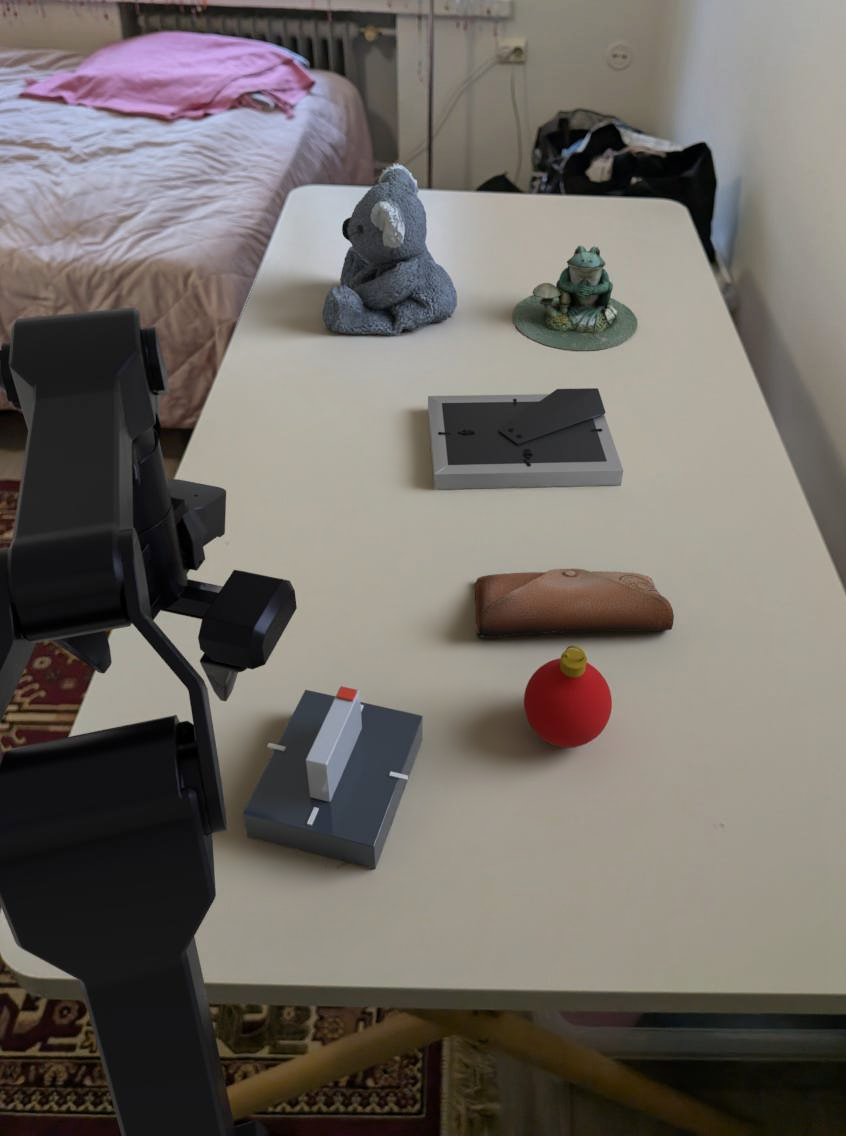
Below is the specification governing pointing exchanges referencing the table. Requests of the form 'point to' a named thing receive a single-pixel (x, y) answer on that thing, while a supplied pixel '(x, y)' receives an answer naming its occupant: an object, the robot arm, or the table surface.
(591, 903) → the table surface
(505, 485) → the picture frame
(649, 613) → the sunglasses case
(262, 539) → the table surface
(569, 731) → the christmas ornament
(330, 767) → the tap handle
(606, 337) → the frog figurine
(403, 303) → the koala plush
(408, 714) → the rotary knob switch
